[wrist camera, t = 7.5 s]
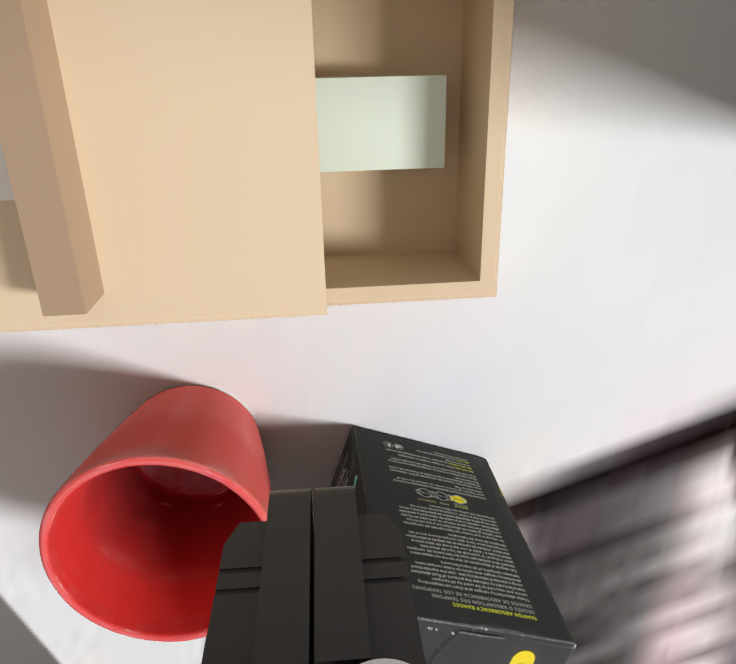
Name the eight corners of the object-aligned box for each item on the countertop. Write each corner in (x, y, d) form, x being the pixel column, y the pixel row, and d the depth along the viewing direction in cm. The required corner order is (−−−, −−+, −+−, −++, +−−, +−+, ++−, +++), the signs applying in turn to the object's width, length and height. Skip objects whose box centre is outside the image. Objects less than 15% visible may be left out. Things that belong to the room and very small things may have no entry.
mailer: (478, -58, 29) (519, -86, 23) (465, 259, 35) (496, 296, 29) (23, -54, 27) (-47, -83, 22) (91, 277, 33) (48, 320, 28)
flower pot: (127, 526, 40) (76, 661, 31) (79, 371, 35) (3, 476, 26) (296, 503, 40) (294, 629, 31) (269, 347, 36) (257, 442, 27)
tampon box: (431, 582, 44) (487, 812, 30) (302, 558, 42) (302, 792, 29) (491, 453, 40) (586, 650, 27) (353, 420, 38) (380, 614, 25)
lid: (306, -87, 22) (306, -109, 20) (326, 307, 28) (328, 336, 25) (-301, -83, 21) (-399, -107, 18) (-146, 333, 27) (-201, 366, 24)
